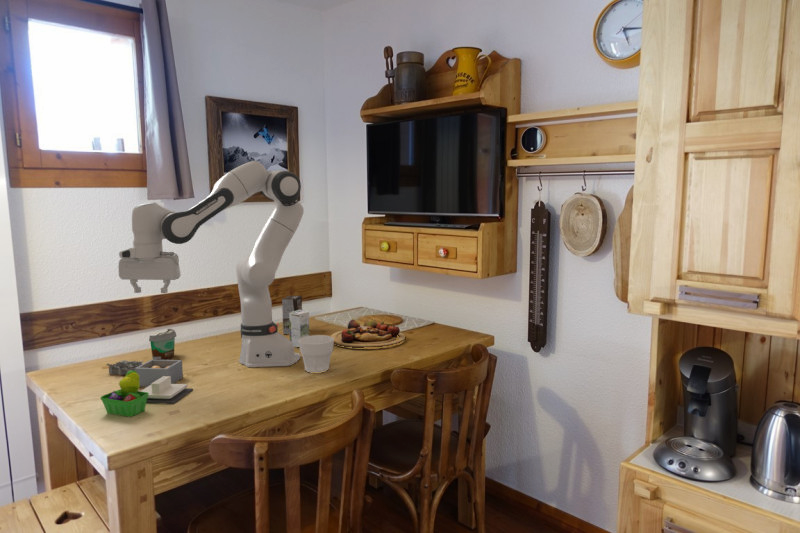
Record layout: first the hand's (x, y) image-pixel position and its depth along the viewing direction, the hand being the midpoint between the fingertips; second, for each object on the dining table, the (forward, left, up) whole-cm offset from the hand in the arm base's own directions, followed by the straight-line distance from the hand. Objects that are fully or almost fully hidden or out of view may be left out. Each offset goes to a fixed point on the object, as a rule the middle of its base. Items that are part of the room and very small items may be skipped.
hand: (151, 292), depth 192 cm
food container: (+8, -22, -29) cm, 38 cm away
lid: (-12, +18, -28) cm, 35 cm away
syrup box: (-38, -42, -29) cm, 64 cm away
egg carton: (+14, -4, -30) cm, 33 cm away
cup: (-53, -12, -29) cm, 62 cm away
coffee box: (-28, -65, -29) cm, 77 cm away
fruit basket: (-8, +30, -29) cm, 43 cm away
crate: (-4, +5, -29) cm, 30 cm away
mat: (-12, +18, -29) cm, 36 cm away
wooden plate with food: (-64, -54, -30) cm, 89 cm away
